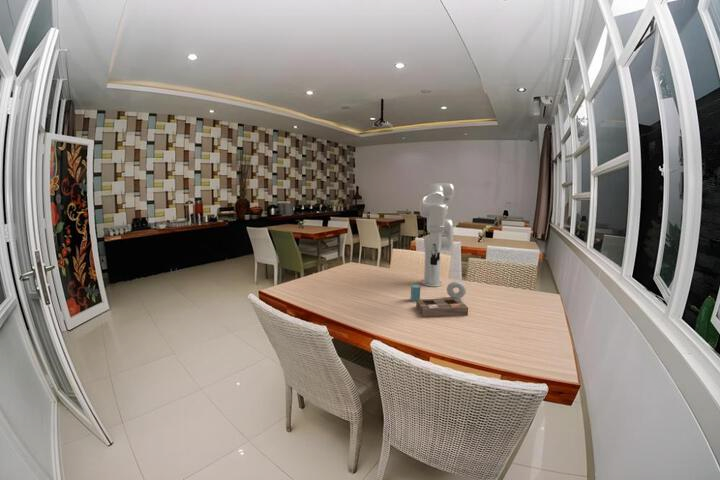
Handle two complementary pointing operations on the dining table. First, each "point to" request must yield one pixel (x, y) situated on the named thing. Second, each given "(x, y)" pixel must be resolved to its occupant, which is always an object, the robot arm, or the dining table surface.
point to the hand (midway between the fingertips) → (435, 262)
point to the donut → (459, 285)
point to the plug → (415, 293)
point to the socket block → (441, 307)
